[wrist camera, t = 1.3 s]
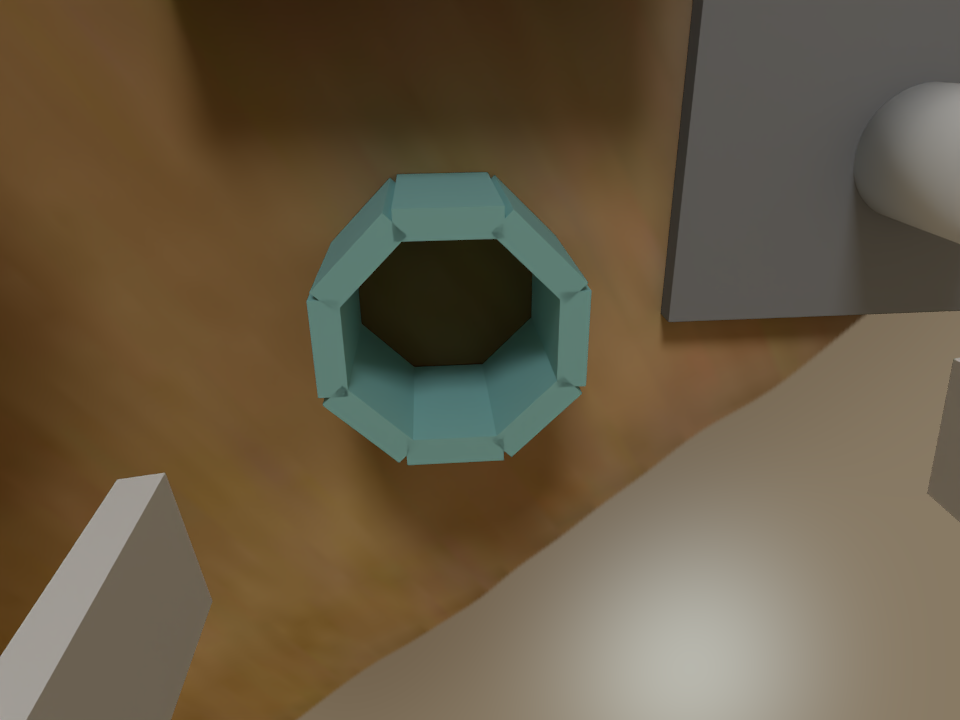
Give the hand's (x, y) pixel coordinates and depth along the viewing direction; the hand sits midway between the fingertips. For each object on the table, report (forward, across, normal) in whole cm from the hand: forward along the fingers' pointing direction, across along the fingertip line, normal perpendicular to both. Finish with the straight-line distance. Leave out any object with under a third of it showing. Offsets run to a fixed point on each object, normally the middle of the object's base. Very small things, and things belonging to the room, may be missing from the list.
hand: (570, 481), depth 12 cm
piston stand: (+17, +17, +1) cm, 24 cm away
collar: (+17, -2, -2) cm, 17 cm away
